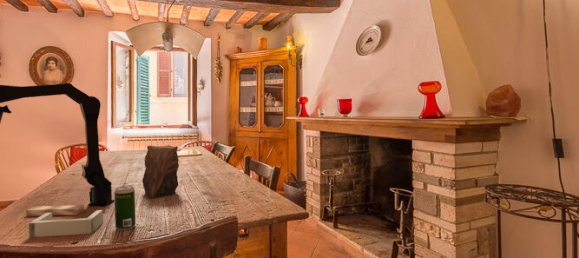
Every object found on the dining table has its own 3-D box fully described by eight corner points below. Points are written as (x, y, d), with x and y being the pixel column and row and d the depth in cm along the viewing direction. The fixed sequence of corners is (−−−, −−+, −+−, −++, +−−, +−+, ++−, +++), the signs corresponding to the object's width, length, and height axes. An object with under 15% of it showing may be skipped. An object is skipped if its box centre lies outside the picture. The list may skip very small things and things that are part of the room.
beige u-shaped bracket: (46, 225, 99) (46, 212, 99) (103, 222, 102) (102, 209, 102) (29, 237, 90) (28, 223, 90) (91, 233, 93) (90, 219, 93)
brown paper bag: (141, 192, 138) (140, 145, 136) (171, 188, 146) (170, 143, 144) (150, 199, 128) (149, 148, 127) (182, 194, 136) (181, 146, 135)
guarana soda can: (138, 227, 98) (137, 187, 97) (119, 232, 94) (118, 191, 93) (131, 223, 101) (130, 184, 101) (112, 227, 97) (111, 187, 97)
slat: (84, 210, 113) (83, 205, 113) (77, 214, 110) (77, 208, 109) (34, 212, 112) (34, 206, 112) (26, 216, 108) (26, 210, 108)
